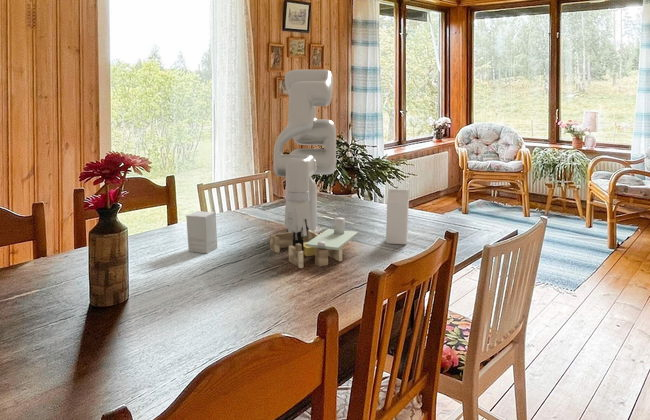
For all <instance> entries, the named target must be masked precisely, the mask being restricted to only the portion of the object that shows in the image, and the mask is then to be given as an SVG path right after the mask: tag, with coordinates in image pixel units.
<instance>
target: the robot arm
mask: <svg viewBox="0 0 650 420" xmlns="http://www.w3.org/2000/svg"><path fill="white" fill-rule="evenodd" d="M284 83H285V88H286V92H287V94H288V117H287V119H288V120H287V125H286V127H284V129H283V130H281V132H280V133H279V135H278V137H277V138H276V139H275V143H274V147H273V149H274V150H273V165H272V166H273V172H274V174H275V175H276V176H277V177H281V178H285V207H284V208H285V209H284V227H285V228H286V229H287V232H292V238H293V246H294V247H295V244H297V243H300V244H301V245H302V251H303V250H304V246H303V239H304V237H305V236H307V232H308V231H309V230H311V231H314V232H316V233H318V234H319V233H320V234H321V233H322V228H321V227H320V226H318V193H317V192H318V186H317V184H316V182H315V180H314V179H313V178H312V176H313V175H332V174H334V173H335V171H336V168H337V167H336V166H337V131H336V130H337V128H336V125H335V123H334V121H332V120H331V119H328V118H327V119H325V118H323V119H321V118H320V119H318V118H317V107H327V106H330V104H331V102H332V98H333V90H334V89H333V88H334V76H333V73H332V71H330V70H328V69H307V68H306V69H301V68H300V69H292V70H289V71H287V72H286V73H285V75H284ZM292 139H293V141H294V142H295V144H297V145H300V146H301V145H302V146H322V147H323V148H297V149H293V150H292V151H291V152H290V153H289V154H286V153H285V154H284V153H283V150H284V147H285V145H286V144H287V143H288V142H290V141H291V140H292Z"/></svg>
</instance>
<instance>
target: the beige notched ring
mask: <svg viewBox="0 0 650 420" xmlns="http://www.w3.org/2000/svg"><path fill="white" fill-rule="evenodd" d="M318 235H319V233H316V232H314V231H311V230H309V231H308V232H307V236H305V237H304V239H303V243H305V242H309V241H310V240H312V239H313V238H315V237H316V236H318ZM284 248H288V261H289V263H291V264H293V265H294V266H296V267H298V268H299V269H303V268H304V254H303V251H302V245H301V244H300V243H297V244H295V247H294V246H293V238H292V232H288V231H287V232H280V233H273V234H269V249H270V250H271V251H273V252H275V253H277V254H278V253H280V251H281V249H284ZM329 257H330V258H332V259H333V260H335V261H338V262H343V247H341V248H340V249H339V250H333V249H324V248H315V255H314V265H317V266H318V267H320V268H321V267H325V266H328V265H329Z"/></svg>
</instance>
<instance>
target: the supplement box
mask: <svg viewBox="0 0 650 420" xmlns="http://www.w3.org/2000/svg"><path fill="white" fill-rule="evenodd" d="M185 217H186V233H187V246H188V248H187V249H188V252H190V253H198V254H199V253H202V254H209V253H210V252H212V251H214V250H216V249H218V233H217V231H218V230H217V213H216V212H214V211H202V210H201V211H200V210H196V211H194V212H192V213H190V214H187V215H186V216H185Z"/></svg>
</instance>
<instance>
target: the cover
mask: <svg viewBox="0 0 650 420" xmlns="http://www.w3.org/2000/svg"><path fill="white" fill-rule="evenodd" d="M345 220H346V219H345V217H334V218H333V228H327V229H326V230H324V231H322V232H320V234H319V233H318V234H319V235H318V236H316V237H315V238H313V239H312V240H310V241H309V242H307V243H306V244H305V246H307V247H316V248H324V249H333V250H339V249H340V248H341V247H342V248H343V247H344V246H345V245H347V244H348V243H349V242H351V241H352V240H353V239H354V238H355V237H357V236H358V235H359V231H356V230H345V227H346V226H345V222H346V221H345Z"/></svg>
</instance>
